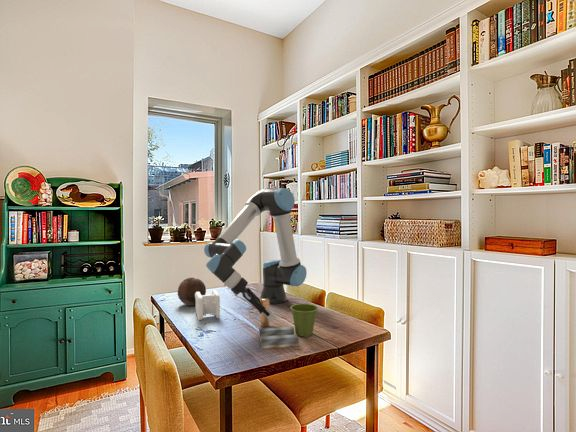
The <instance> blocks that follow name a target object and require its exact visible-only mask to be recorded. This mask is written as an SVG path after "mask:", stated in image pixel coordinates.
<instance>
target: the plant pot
mask: <svg viewBox="0 0 576 432" xmlns="http://www.w3.org/2000/svg"><path fill="white" fill-rule="evenodd" d="M289 309H290V310H291V314H292V319H293V324H294V325H293V327H294V334H297V336H299V337H302V336H303V338H304V337H305V338H307V336H308V337H310V336H312V335H313V333H314V327H315V321H316V317H317V313H318V310H319V307H318V306H317V305H315V304H309V303H295V304H292V305H291V306H290V307H289Z"/></svg>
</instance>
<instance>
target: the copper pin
mask: <svg viewBox="0 0 576 432" xmlns="http://www.w3.org/2000/svg"><path fill="white" fill-rule="evenodd" d="M259 299H260V298H259ZM260 303H261V304H262V305H263V306H264V307H265V308H267V309H268V310H269V309H270V304H269V299H268V298H262V299H260ZM259 315H260V327H261V328H270V320H269V319H268V318H267V317H266V316H265V315H264V314H263V313H261V314H260V313H259Z"/></svg>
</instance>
